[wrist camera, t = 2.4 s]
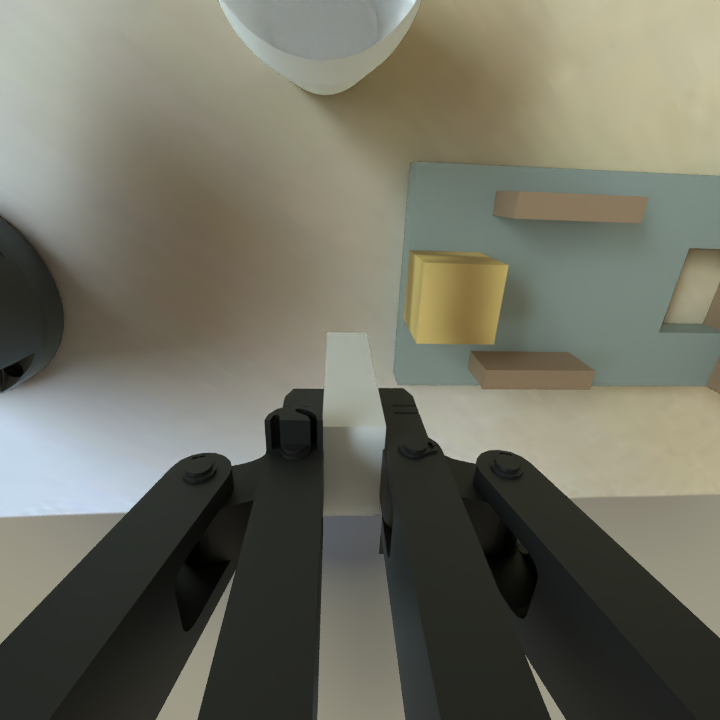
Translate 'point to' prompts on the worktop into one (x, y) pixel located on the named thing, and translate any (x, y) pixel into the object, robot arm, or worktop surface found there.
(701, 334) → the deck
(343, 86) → the cup
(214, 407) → the worktop surface
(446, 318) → the ochre block
